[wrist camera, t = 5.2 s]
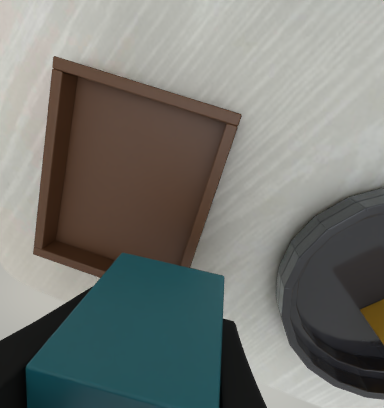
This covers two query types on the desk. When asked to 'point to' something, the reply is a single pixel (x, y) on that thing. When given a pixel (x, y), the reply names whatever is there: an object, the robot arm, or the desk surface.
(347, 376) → the pan
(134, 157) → the tray
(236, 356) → the robot arm
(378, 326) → the mustard block
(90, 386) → the teal block
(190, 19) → the desk surface
